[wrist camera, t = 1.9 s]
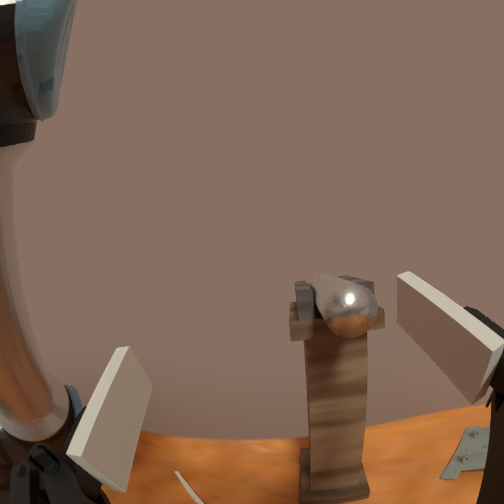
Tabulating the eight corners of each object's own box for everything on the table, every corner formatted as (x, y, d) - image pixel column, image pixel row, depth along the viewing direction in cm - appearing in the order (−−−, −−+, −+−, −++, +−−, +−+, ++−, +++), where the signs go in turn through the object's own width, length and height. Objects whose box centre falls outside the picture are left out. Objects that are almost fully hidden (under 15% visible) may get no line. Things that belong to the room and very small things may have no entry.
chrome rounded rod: (381, 330, 18) (372, 277, 18) (329, 344, 18) (319, 291, 19) (337, 297, 38) (332, 269, 38) (310, 303, 38) (305, 276, 39)
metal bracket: (525, 407, 20) (515, 462, 12) (523, 431, 19) (510, 487, 10) (461, 422, 31) (433, 471, 23) (462, 443, 30) (433, 493, 21)
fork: (184, 471, 37) (182, 464, 37) (243, 535, 20) (241, 529, 21) (168, 476, 35) (166, 469, 35) (222, 544, 19) (220, 538, 19)
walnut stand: (368, 497, 24) (382, 280, 26) (300, 507, 25) (286, 293, 27) (354, 448, 38) (353, 274, 39) (301, 455, 39) (288, 282, 41)
